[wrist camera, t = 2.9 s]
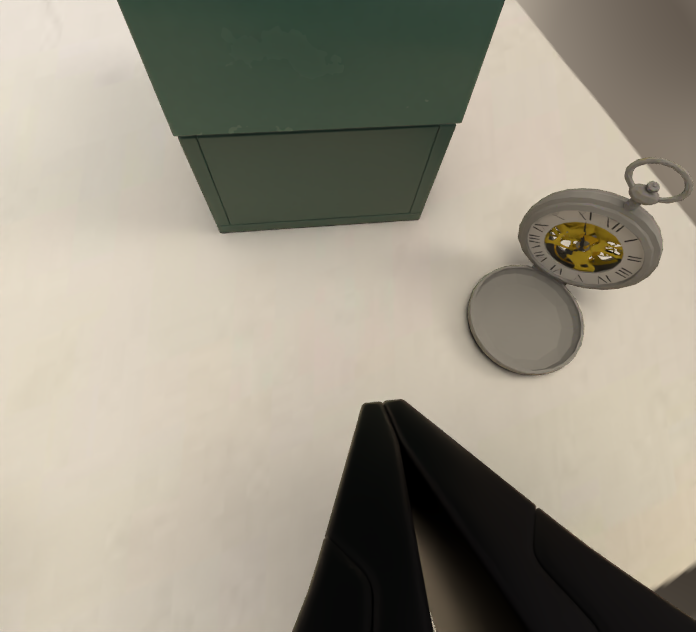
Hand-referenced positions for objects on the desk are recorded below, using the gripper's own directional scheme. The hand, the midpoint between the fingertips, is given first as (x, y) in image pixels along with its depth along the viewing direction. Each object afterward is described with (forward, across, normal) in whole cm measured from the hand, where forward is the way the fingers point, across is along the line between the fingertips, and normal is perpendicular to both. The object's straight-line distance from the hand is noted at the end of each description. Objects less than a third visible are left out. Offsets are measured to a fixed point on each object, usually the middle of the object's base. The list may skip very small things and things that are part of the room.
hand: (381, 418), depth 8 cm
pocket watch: (+14, -12, +5) cm, 19 cm away
